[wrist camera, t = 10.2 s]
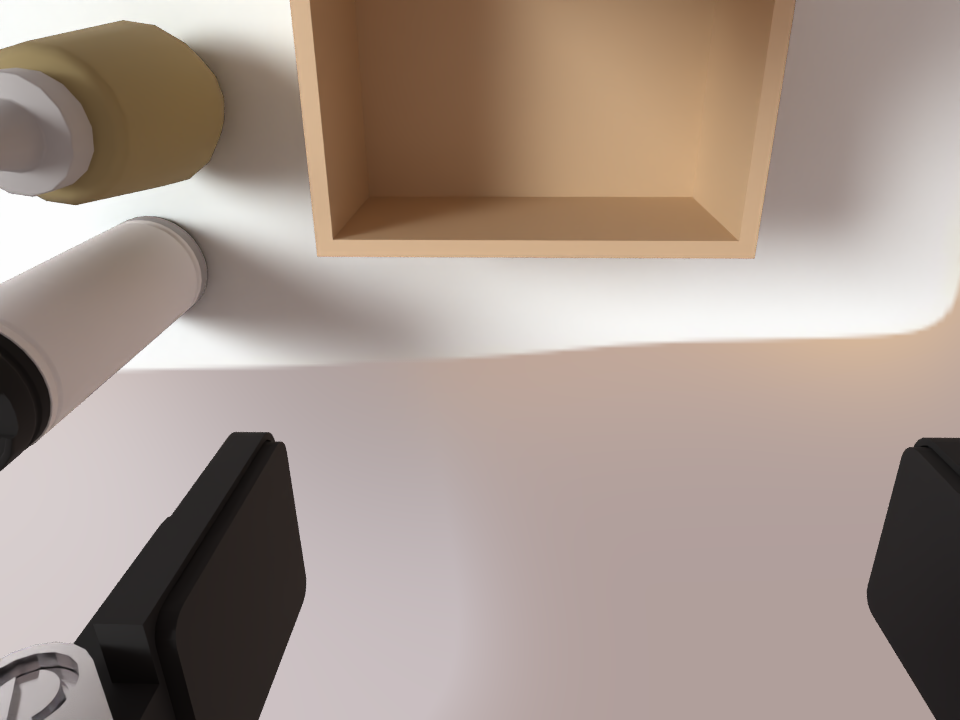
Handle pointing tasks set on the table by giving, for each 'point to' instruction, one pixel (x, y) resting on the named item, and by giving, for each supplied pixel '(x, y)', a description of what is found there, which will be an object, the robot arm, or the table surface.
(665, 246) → the carton
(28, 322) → the travel mug
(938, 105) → the table surface
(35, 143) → the squeeze bottle
